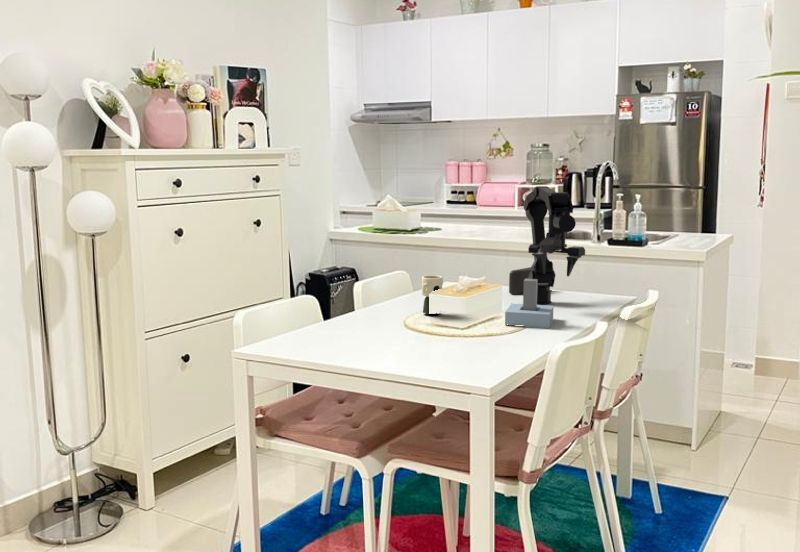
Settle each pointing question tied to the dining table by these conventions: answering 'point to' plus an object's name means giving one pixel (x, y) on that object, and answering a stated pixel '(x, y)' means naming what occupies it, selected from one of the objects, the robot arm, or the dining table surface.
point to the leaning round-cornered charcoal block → (518, 280)
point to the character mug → (430, 288)
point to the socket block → (529, 316)
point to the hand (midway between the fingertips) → (555, 275)
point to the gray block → (530, 295)
